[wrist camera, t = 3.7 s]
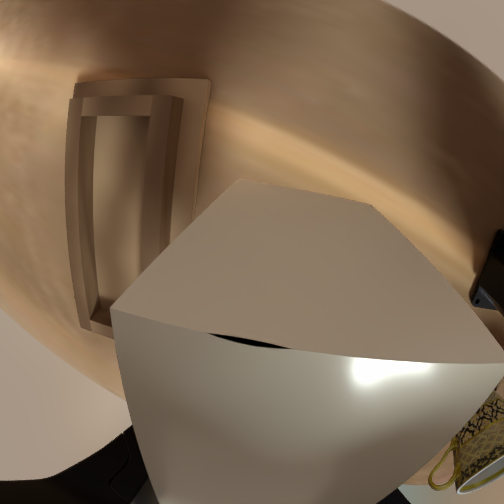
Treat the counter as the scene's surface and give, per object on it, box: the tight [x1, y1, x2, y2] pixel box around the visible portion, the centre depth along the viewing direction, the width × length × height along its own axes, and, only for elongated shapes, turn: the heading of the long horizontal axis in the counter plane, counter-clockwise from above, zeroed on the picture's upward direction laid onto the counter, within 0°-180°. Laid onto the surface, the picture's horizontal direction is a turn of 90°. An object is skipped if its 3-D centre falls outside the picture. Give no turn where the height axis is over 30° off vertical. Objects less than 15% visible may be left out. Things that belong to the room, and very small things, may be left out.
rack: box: [65, 78, 212, 339], centre depth 19 cm, size 10×20×3 cm, turn 171°
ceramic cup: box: [428, 390, 504, 494], centre depth 19 cm, size 13×10×10 cm
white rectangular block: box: [110, 179, 504, 504], centre depth 7 cm, size 4×12×6 cm, turn 171°
